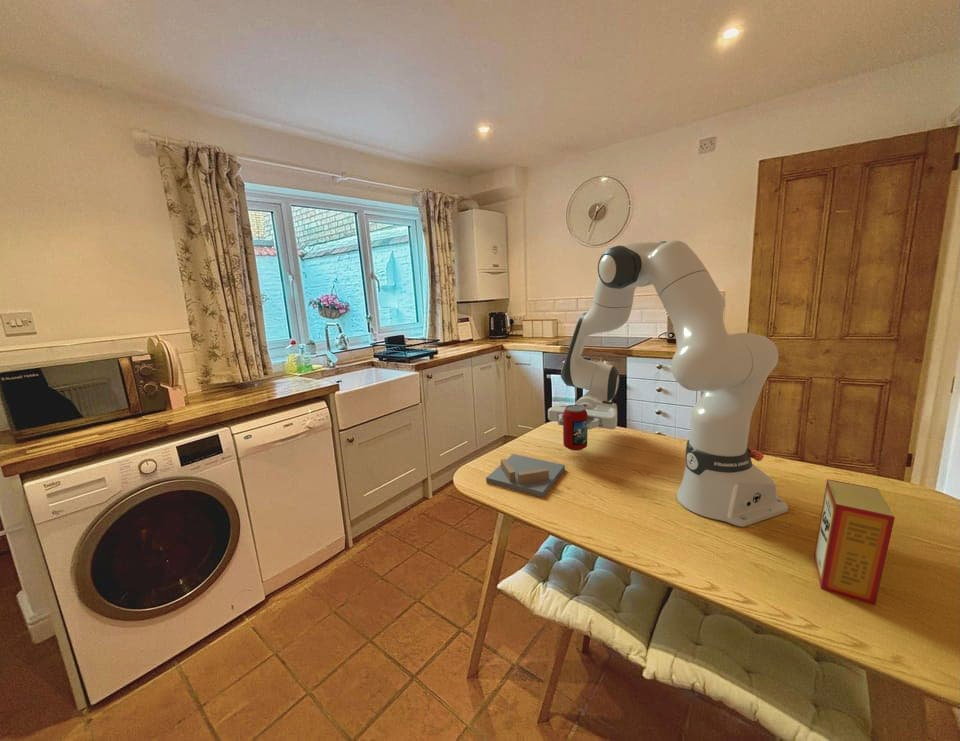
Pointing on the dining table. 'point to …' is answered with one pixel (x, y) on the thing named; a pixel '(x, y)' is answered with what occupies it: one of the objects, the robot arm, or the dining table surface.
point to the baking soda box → (852, 540)
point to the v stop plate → (523, 467)
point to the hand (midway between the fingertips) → (574, 424)
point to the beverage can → (575, 427)
